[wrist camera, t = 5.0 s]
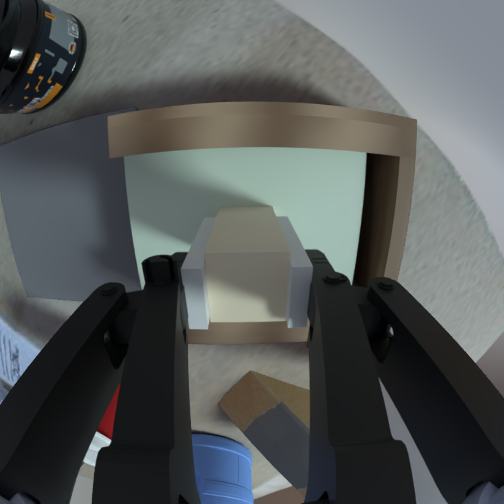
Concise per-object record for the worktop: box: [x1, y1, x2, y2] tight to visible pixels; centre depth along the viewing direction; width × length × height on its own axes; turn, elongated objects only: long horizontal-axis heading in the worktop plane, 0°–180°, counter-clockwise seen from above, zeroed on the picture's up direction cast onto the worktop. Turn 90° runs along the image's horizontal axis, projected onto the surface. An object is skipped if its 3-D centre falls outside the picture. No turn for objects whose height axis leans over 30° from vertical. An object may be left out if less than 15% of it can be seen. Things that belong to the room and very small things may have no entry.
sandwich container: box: [218, 371, 310, 497], centre depth 26 cm, size 9×15×15 cm, turn 58°
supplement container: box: [0, 0, 87, 114], centre depth 11 cm, size 10×10×12 cm
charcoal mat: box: [0, 107, 142, 301], centre depth 22 cm, size 18×18×1 cm
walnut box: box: [108, 102, 417, 344], centre depth 20 cm, size 18×15×7 cm
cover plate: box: [124, 147, 367, 322], centre depth 15 cm, size 15×13×8 cm
